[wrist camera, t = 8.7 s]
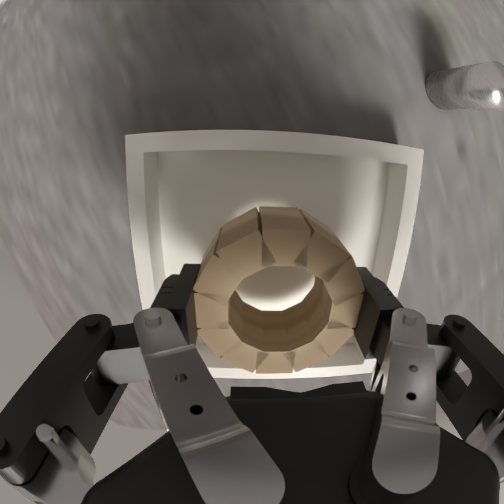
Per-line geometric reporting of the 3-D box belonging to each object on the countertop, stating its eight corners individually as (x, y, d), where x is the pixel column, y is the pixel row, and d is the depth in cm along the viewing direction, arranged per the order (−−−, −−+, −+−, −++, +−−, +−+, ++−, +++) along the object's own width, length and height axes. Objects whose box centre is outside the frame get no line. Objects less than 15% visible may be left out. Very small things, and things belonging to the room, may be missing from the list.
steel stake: (454, 78, 11) (514, 72, 7) (455, 113, 12) (516, 116, 7) (425, 67, 11) (484, 53, 7) (425, 104, 12) (487, 102, 7)
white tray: (398, 145, 13) (423, 149, 11) (360, 346, 18) (371, 372, 16) (145, 133, 13) (125, 134, 10) (165, 345, 18) (156, 372, 15)
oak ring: (351, 210, 12) (377, 233, 9) (331, 330, 15) (345, 370, 12) (201, 205, 12) (187, 227, 9) (207, 330, 15) (199, 371, 12)
